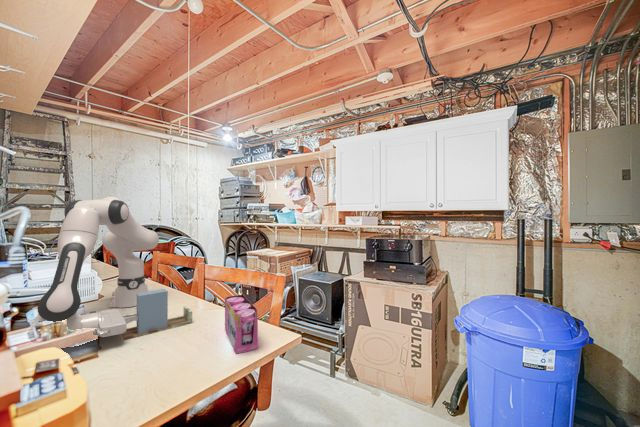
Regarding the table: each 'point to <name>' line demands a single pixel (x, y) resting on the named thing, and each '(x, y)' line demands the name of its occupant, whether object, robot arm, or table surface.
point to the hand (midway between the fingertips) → (137, 316)
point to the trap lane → (172, 323)
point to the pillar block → (152, 310)
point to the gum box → (241, 323)
